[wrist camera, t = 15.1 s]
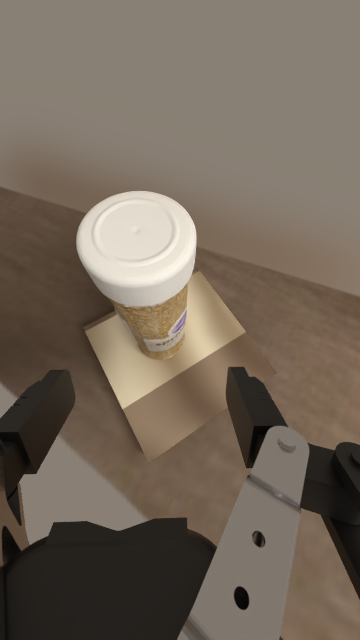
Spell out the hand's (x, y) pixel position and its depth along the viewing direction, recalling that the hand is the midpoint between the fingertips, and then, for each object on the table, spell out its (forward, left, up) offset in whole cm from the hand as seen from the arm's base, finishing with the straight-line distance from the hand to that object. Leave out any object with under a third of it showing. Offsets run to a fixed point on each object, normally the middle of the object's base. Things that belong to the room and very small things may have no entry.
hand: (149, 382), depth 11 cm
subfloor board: (-3, -2, -10) cm, 10 cm away
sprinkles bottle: (-2, -4, -8) cm, 10 cm away
